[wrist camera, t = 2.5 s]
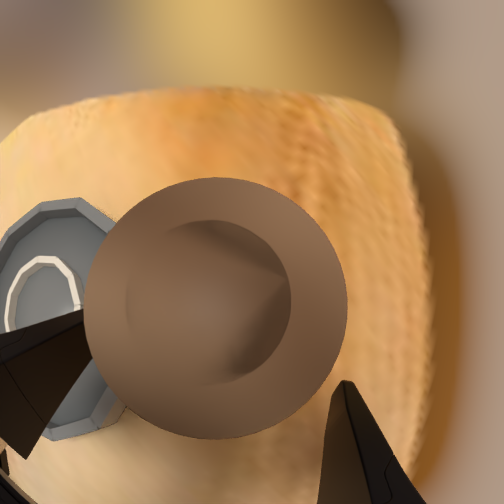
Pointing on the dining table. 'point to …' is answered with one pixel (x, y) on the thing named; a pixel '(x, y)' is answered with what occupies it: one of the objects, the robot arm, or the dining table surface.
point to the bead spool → (215, 308)
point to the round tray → (57, 296)
